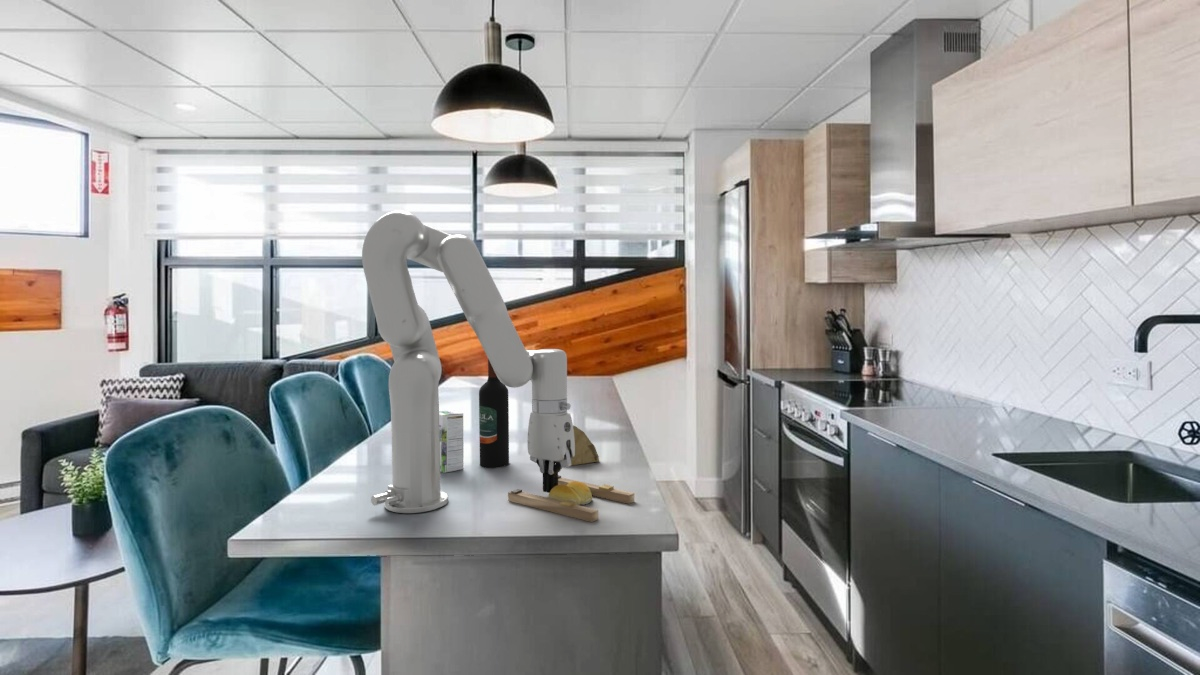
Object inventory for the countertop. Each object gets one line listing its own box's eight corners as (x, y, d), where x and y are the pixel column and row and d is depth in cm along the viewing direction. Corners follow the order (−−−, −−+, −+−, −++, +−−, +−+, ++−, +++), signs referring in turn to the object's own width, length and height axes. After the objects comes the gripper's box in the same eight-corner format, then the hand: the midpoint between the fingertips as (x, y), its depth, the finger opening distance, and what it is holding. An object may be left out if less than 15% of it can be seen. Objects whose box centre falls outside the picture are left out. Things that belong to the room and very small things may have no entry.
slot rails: (591, 522, 114) (591, 510, 114) (508, 500, 127) (508, 490, 127) (634, 501, 127) (634, 490, 126) (554, 483, 139) (554, 473, 139)
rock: (605, 449, 163) (570, 442, 166) (603, 429, 157) (567, 421, 160) (592, 482, 155) (556, 473, 158) (590, 461, 150) (552, 453, 152)
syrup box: (433, 468, 153) (432, 412, 152) (454, 464, 156) (453, 409, 156) (443, 473, 148) (442, 415, 147) (464, 469, 152) (464, 412, 151)
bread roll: (542, 500, 128) (542, 481, 128) (579, 493, 133) (579, 475, 132) (560, 511, 121) (560, 491, 121) (598, 504, 125) (598, 485, 125)
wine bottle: (512, 466, 155) (511, 350, 153) (482, 469, 152) (481, 350, 150) (505, 459, 162) (504, 348, 160) (477, 462, 159) (475, 348, 158)
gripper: (588, 407, 128) (588, 492, 129) (534, 401, 137) (535, 481, 138) (566, 412, 122) (566, 501, 123) (512, 405, 130) (513, 489, 131)
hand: (550, 490), depth 130 cm, fingers closed
